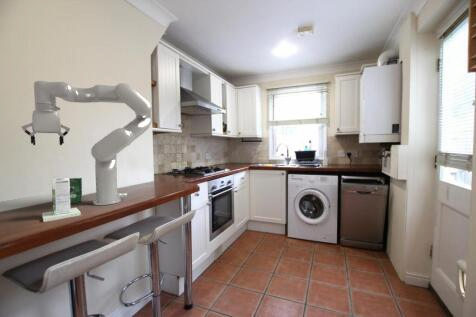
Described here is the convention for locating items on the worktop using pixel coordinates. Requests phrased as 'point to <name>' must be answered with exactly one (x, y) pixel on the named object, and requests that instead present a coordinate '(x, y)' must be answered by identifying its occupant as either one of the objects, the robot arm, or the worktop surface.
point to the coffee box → (75, 190)
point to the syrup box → (61, 196)
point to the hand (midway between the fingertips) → (48, 145)
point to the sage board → (60, 215)
